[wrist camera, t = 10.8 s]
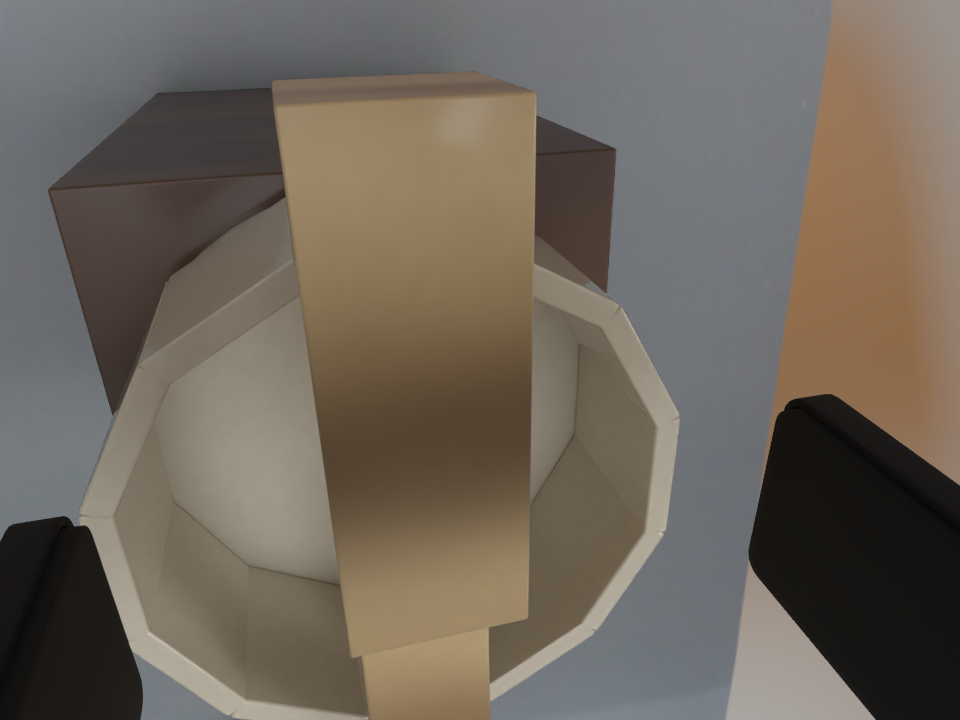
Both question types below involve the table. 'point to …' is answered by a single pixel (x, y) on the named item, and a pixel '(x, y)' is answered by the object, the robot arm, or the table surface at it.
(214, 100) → the stand
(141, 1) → the table surface
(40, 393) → the table surface
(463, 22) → the table surface
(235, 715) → the bowl
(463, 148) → the tan block
